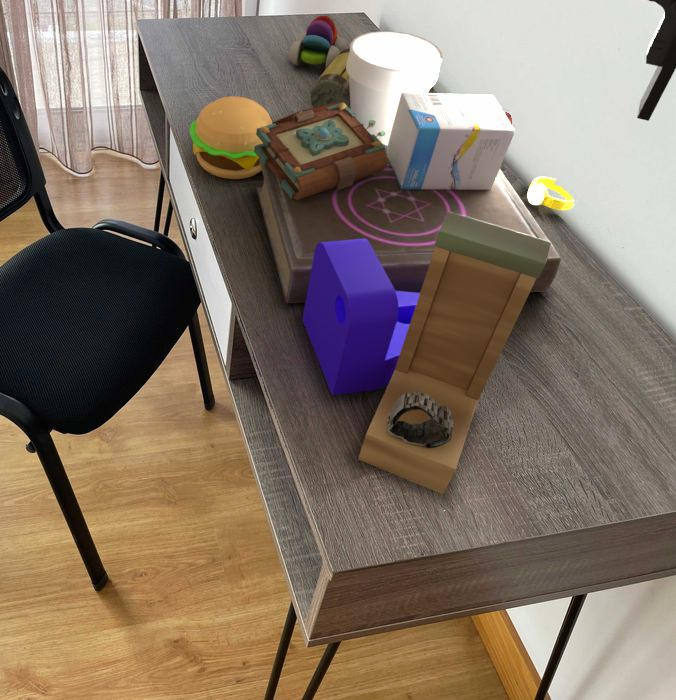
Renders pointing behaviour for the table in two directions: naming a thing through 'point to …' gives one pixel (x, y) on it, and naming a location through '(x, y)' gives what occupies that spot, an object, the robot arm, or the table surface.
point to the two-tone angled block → (455, 340)
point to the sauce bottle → (333, 83)
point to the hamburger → (229, 137)
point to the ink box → (448, 141)
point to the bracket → (355, 316)
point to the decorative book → (320, 151)
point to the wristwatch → (424, 433)
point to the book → (384, 225)
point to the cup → (388, 75)
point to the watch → (540, 195)
